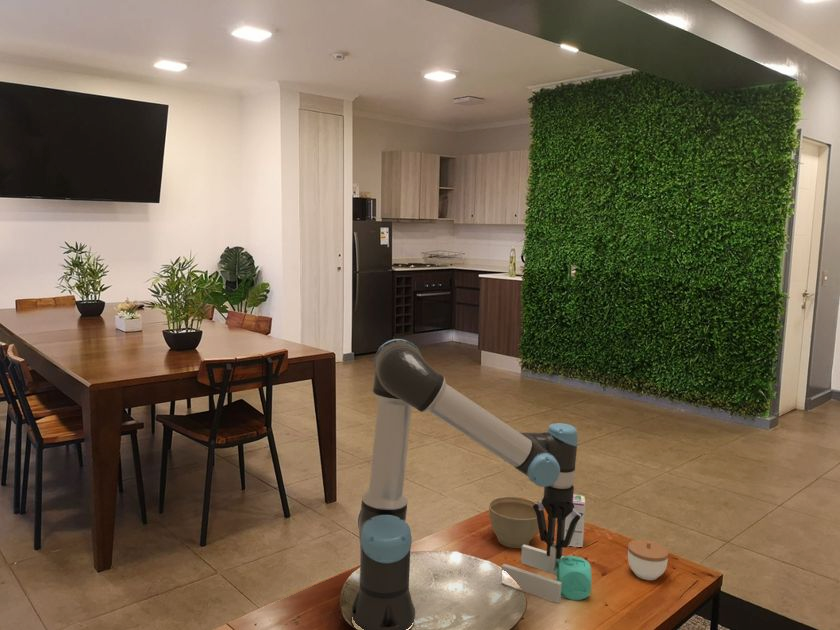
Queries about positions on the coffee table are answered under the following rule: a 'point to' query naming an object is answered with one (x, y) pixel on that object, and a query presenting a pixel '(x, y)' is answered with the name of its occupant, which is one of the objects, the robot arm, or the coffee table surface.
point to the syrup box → (579, 530)
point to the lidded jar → (647, 559)
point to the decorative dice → (574, 577)
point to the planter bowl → (513, 520)
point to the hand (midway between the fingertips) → (553, 568)
